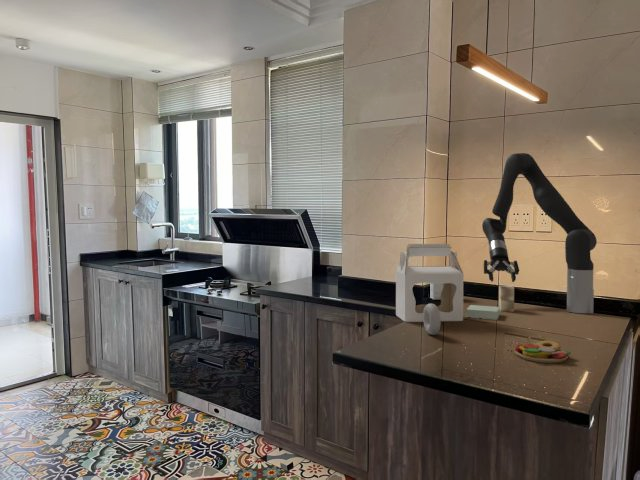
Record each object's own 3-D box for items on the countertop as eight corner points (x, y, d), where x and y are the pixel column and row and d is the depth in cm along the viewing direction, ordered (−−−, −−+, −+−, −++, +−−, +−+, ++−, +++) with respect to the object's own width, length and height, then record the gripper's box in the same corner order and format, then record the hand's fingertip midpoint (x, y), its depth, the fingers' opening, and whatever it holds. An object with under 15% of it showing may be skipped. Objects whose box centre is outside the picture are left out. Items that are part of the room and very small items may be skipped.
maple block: (511, 309, 197) (511, 285, 197) (513, 311, 192) (514, 287, 192) (498, 309, 198) (498, 285, 198) (500, 311, 193) (501, 286, 193)
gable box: (404, 322, 171) (404, 244, 170) (395, 315, 184) (395, 243, 183) (463, 321, 173) (464, 244, 172) (450, 314, 186) (451, 243, 185)
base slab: (499, 315, 185) (499, 306, 185) (496, 321, 175) (497, 311, 175) (470, 313, 190) (470, 305, 190) (466, 318, 180) (466, 309, 180)
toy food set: (553, 351, 133) (553, 339, 133) (581, 364, 119) (581, 352, 119) (506, 351, 132) (506, 339, 132) (528, 365, 119) (528, 352, 119)
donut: (421, 331, 156) (421, 301, 156) (431, 331, 156) (431, 300, 156) (431, 338, 146) (431, 306, 146) (442, 338, 147) (442, 306, 146)
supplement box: (452, 299, 223) (452, 268, 222) (432, 299, 223) (433, 268, 222) (447, 297, 232) (447, 266, 231) (428, 297, 232) (429, 266, 231)
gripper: (482, 246, 211) (486, 274, 201) (516, 246, 209) (522, 275, 198) (480, 257, 217) (484, 285, 206) (513, 258, 214) (519, 286, 203)
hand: (502, 280), depth 202 cm, fingers open, 8 cm apart
